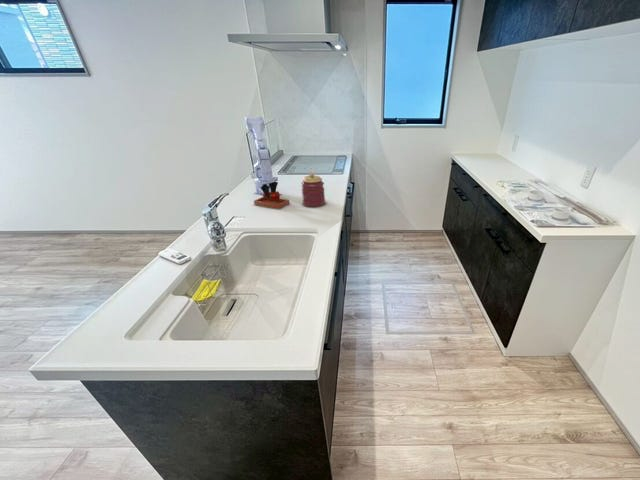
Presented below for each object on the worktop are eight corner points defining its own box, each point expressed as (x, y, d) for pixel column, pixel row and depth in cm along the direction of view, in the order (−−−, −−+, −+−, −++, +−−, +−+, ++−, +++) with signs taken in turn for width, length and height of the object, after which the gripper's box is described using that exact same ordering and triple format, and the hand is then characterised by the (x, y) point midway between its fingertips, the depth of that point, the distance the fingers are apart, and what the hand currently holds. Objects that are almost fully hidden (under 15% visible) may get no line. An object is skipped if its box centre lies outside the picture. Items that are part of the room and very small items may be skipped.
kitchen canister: (298, 205, 180) (295, 174, 171) (310, 199, 190) (307, 169, 181) (318, 208, 176) (316, 176, 167) (329, 201, 187) (327, 171, 177)
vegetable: (282, 191, 181) (263, 192, 183) (278, 190, 176) (258, 191, 178) (283, 199, 182) (264, 200, 184) (279, 198, 176) (259, 200, 178)
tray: (254, 204, 182) (253, 200, 180) (265, 199, 189) (264, 196, 188) (279, 209, 176) (278, 204, 174) (289, 203, 183) (288, 199, 182)
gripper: (263, 175, 166) (268, 200, 173) (280, 169, 177) (284, 193, 184) (253, 174, 168) (257, 199, 175) (270, 168, 179) (274, 192, 186)
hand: (270, 196), depth 180 cm, fingers closed on vegetable, 5 cm apart
